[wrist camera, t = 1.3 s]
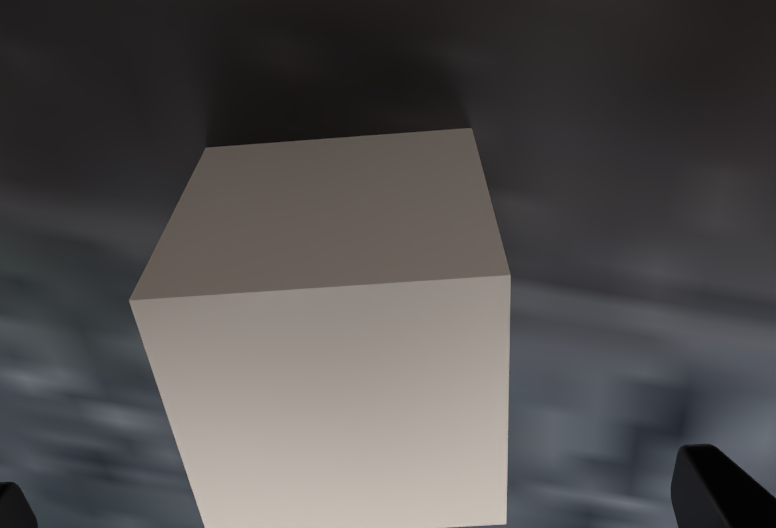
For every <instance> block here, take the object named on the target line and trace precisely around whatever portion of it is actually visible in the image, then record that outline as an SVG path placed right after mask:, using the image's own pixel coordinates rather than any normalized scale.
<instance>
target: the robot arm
mask: <svg viewBox="0 0 776 528" xmlns="http://www.w3.org/2000/svg"><path fill="white" fill-rule="evenodd" d="M671 500H672V505H673V509H674V513H675V516H676V520H677V524H678V528H776V498H775V497H774V496H773V495H772V494H770V493H769V492H768V491H767V490H766V489H765V488H763V487H762V486H761V485H760V484H759V483H758V482H756V481H755V480H754V479H753V478H752V477H751V476H749V475H748V474H747V473H746V472H745V471H744V470H743V469H741V468H740V467H739V466H738V465H737V464H736V463H734V462H733V461H732V460H731V459H730V458H729V457H727V456H726V455H725V454H724V453H723V452H722V451H720V450H719V449H718V448H717V447H715V446H713V445H711V444H694V445H684V446H682V447H680V449H679V450H678V453H677V458H676V463H675V468H674V472H673V477H672V482H671ZM0 528H38V524H37V519H36V517H35V515H34V513H33V511H32V509H31V507H30V505H29V504H28V502H27V500H26V498H25V496H24V494H23V492H22V490H21V488H20V487H19V486H18V485H17V484H15V483H14V482H0Z"/></svg>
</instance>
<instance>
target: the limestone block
mask: <svg viewBox="0 0 776 528" xmlns="http://www.w3.org/2000/svg"><path fill="white" fill-rule="evenodd" d="M510 287H511V274H510V270H509V267H508V263H507V259H506V255H505V252H504V248H503V244H502V240H501V236H500V233H499V229H498V225H497V221H496V218H495V214H494V210H493V206H492V202H491V199H490V195H489V191H488V187H487V184H486V180H485V176H484V172H483V168H482V165H481V161H480V157H479V153H478V150H477V146H476V142H475V138H474V134H473V131H472V128H463V129H450V130H437V131H423V132H410V133H396V134H383V135H369V136H356V137H343V138H329V139H316V140H302V141H289V142H275V143H262V144H248V145H235V146H222V147H208V148H205V150H204V152H203V154H202V156H201V158H200V160H199V162H198V164H197V166H196V168H195V170H194V172H193V174H192V176H191V178H190V180H189V182H188V184H187V186H186V188H185V190H184V192H183V194H182V196H181V198H180V200H179V202H178V204H177V206H176V208H175V210H174V212H173V214H172V216H171V218H170V220H169V222H168V224H167V226H166V228H165V230H164V232H163V234H162V236H161V238H160V240H159V242H158V244H157V246H156V248H155V250H154V252H153V254H152V256H151V258H150V260H149V262H148V263H147V265H146V267H145V269H144V271H143V273H142V275H141V277H140V279H139V281H138V283H137V285H136V287H135V289H134V291H133V293H132V295H131V297H130V299H129V302H130V305H131V308H132V311H133V314H134V317H135V320H136V323H137V326H138V329H139V332H140V335H141V338H142V341H143V344H144V347H145V350H146V353H147V356H148V359H149V362H150V365H151V368H152V371H153V374H154V377H155V380H156V383H157V386H158V389H159V392H160V395H161V398H162V401H163V404H164V407H165V410H166V413H167V416H168V419H169V422H170V425H171V428H172V431H173V434H174V437H175V440H176V443H177V446H178V449H179V452H180V455H181V458H182V461H183V464H184V467H185V470H186V473H187V476H188V479H189V482H190V485H191V488H192V491H193V494H194V497H195V500H196V503H197V505H198V508H199V511H200V514H201V517H202V520H203V523H204V526H205V528H445V527H464V526H482V525H501V524H506V512H507V456H508V399H509V343H510Z"/></svg>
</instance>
